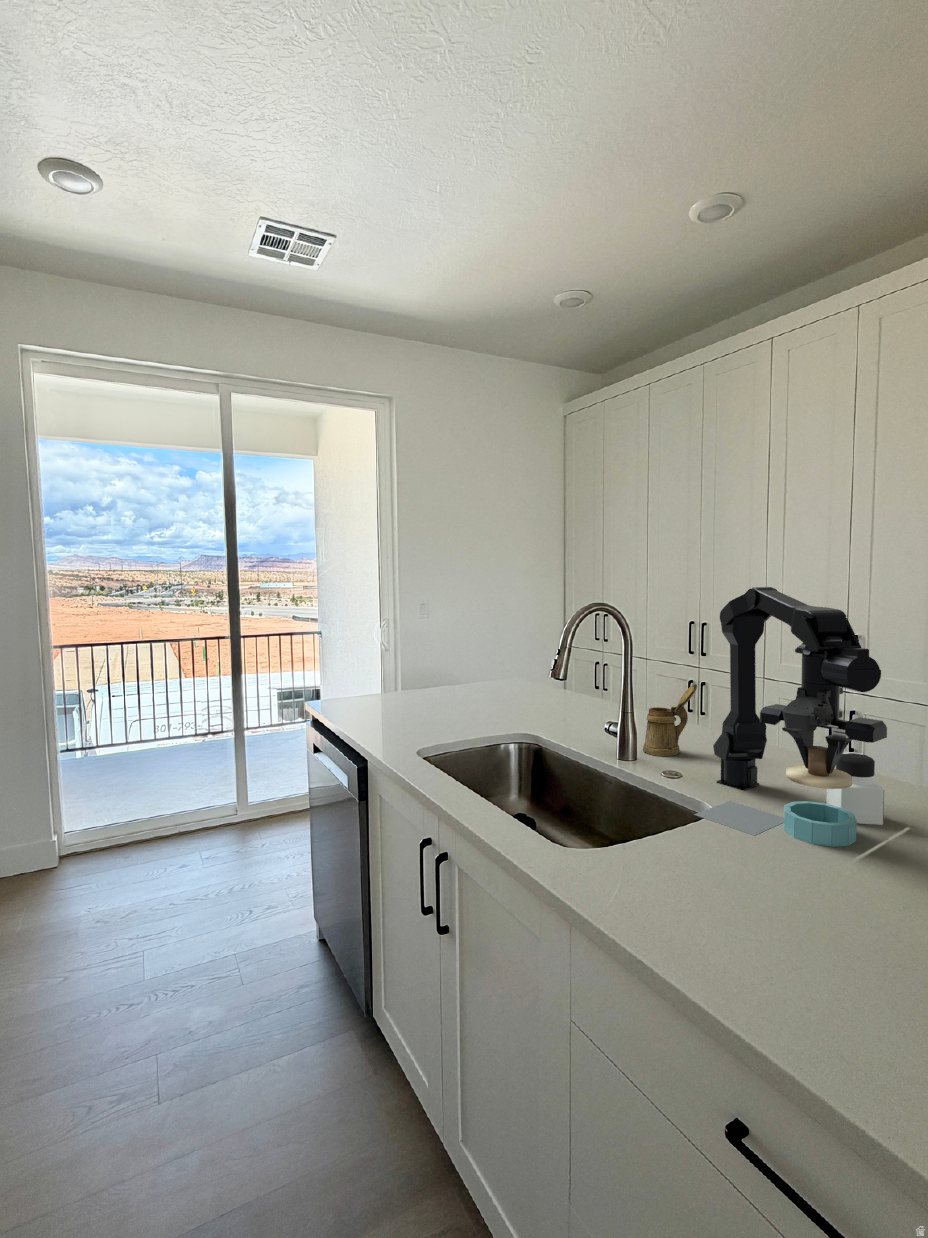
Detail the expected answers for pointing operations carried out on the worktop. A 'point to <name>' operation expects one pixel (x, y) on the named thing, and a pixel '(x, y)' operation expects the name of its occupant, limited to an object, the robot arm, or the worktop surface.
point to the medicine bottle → (859, 789)
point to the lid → (818, 772)
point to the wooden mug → (666, 727)
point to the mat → (741, 817)
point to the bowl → (820, 823)
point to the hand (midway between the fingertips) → (818, 770)
